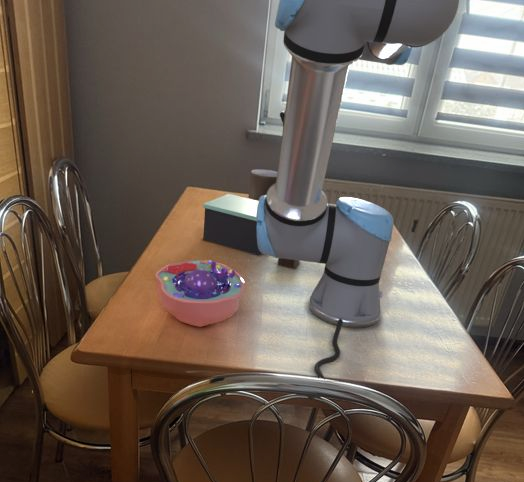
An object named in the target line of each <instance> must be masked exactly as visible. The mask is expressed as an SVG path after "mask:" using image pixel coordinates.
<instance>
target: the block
mask: <svg viewBox="0 0 524 482" xmlns="http://www.w3.org/2000/svg"><path fill="white" fill-rule="evenodd" d="M300 263H301V261H300V260H292V259H284V258H280V259H279V258H277V265H280V266H284V267H287V268H291V269H295V268H296V267H297V266H298V265H299V264H300Z"/></svg>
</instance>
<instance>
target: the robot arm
mask: <svg viewBox="0 0 524 482" xmlns="http://www.w3.org/2000/svg"><path fill="white" fill-rule="evenodd" d="M459 4H460V0H279V3H278V7H277V11H276V16H275V19H274V20H275V21H274V26H275V28H276V29H278V30H279V31H280V32H283V40H282V41H283V46H284V49H286V51H287V52H288V53H289V54H290V56H291V60H290V61H291V62H290V70H289V79H288V85H287V93H286V102H285V110H284V111H281V112H280V113H279V117H280V120H281V122H282V134H281V141H280V149H279V156H278V157H279V158H278V166H277V171H276V172H277V180H276V183H275V184H273V185H272V186H271V187H270V188H269V190H268V192H267V195H263V196H261V197H260V198H259V202H258V208H257V245H258V249H259V251H260V252H261V253H260V254H262V255H264V256H266V257H267V256H268V257H272V258H276V259H278V258H279V259H280V258H284V259H292V260H300V262H301V261H302V262H307V263H315V264H323V265H324V268H323V269H324V270H323V273H322V276H321V277H320V278H319V281H318V282H317V283H316V286H315V288H314V289H313V291H312V292H311V295H310V297H309V302H308V308H309V311H310V312H311V313H312V314H313V315H314V316H315V317H317V318H318V319H320V321H321V320H322V321H324V322H326V323H328V324H331V325H334V326H336V328H335V331H334V333H333V337H332V343H331V344H332V347H333V350H334V355H332V356H329V357H325V358H322V359H320V360H318V361H317V362H316V363H315V365H314V367H313V368H314V373H315V374H316V377H317V378H318V377H321V378H324V379H325V377H324V374H323V373H322V371H321V369H320V368H321V366H324V365H326V364H328V363H332V362H334V361H336V360H337V359H338V358H340V356H341V350H340V347H339V345H338V338H339V335H340V332H341V329H342V327H343V328H349V329H362V328H368V327H371V326H374V325H376V324H377V323H378V321H379V319H380V315H381V309H382V307H381V299H382V297H383V293H384V292H383V291H380V285H379V284H380V280H381V276H382V272H383V269H384V265H385V262H386V258H387V253H388V249H389V245H390V243H391V241H392V234H393V230H394V229H393V228H394V217H393V215H392V214H391V213H390V212H389V210H387V209H385V208H384V207H382V206H380V205H379V204H378V205H377V204H375V203H373V202H370V201H368V200H364V199H360V198H356V197H350V196H349V197H348V196H342V197H339V198H338V199H337V201H336V202H335V203H336V204H329V202H328V197H327V195H326V193H325V192H324V191H323V188H324V183H325V179H326V174H327V169H328V165H329V161H330V156H331V151H332V146H333V142H334V138H335V132H336V128H337V125H338V124H337V123H338V119H339V115H340V110H341V105H342V101H343V95H344V92H345V87H346V82H347V78H348V73H349V68H350V66H351V65H353V64H354V63H356V62H357V61H359V60H360V61H366V62H371V63H379V64H385V65H387V66H393V65H394V66H404V65H405V64H406V63H407V62H408V60H409V58H410V56H411V52H412V50H413V48H422V47H425V46H427V45H430V44H431V43H433V42H435V41H437V40H438V39H439V38H440V37H442V36H443V35H444V34H445V32H446V31H448V29H449V28H450V26H451V25H452V23H453V22H454V19H455V18H456V15H457V12H458V9H459Z"/></svg>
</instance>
